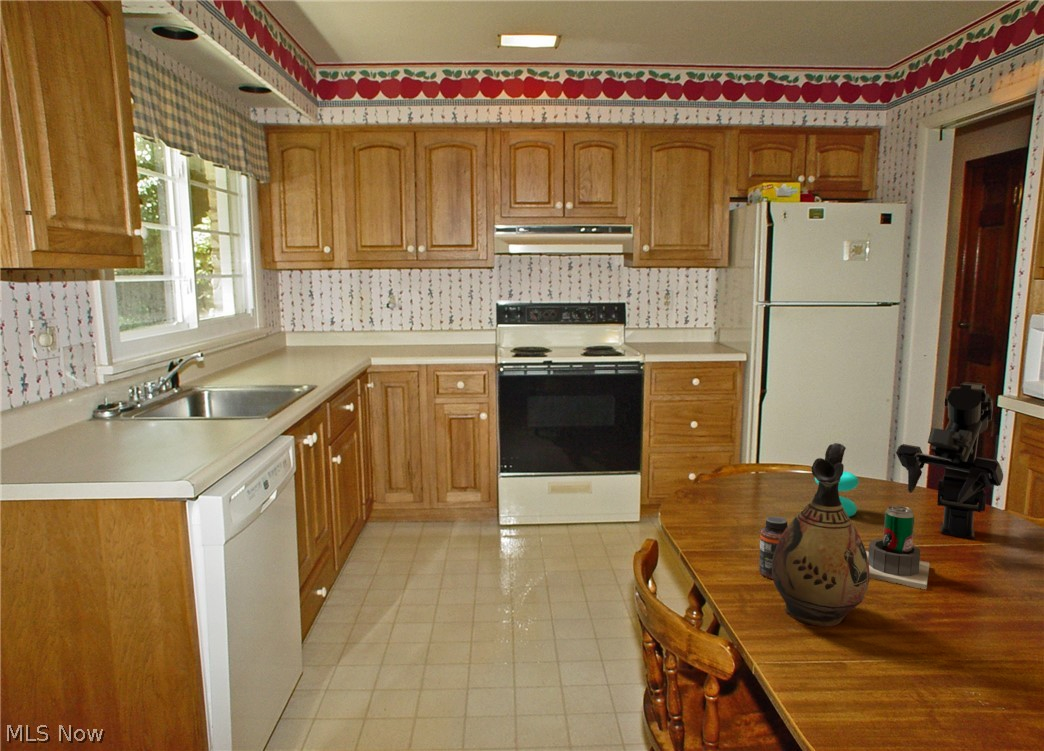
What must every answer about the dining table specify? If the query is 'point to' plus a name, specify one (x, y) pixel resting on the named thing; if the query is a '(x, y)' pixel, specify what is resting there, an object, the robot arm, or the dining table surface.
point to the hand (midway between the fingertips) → (933, 497)
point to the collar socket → (897, 566)
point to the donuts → (845, 484)
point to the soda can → (898, 530)
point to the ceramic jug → (822, 553)
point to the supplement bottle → (770, 543)
